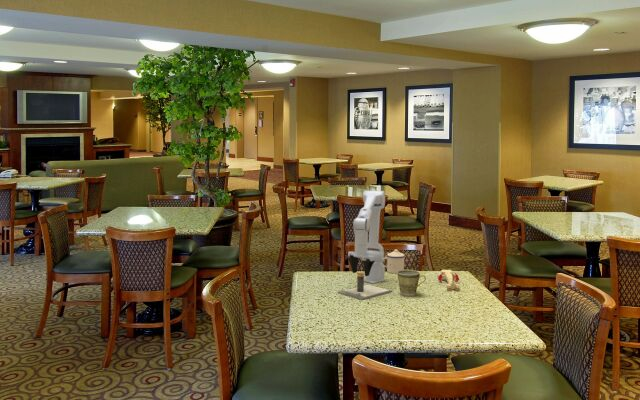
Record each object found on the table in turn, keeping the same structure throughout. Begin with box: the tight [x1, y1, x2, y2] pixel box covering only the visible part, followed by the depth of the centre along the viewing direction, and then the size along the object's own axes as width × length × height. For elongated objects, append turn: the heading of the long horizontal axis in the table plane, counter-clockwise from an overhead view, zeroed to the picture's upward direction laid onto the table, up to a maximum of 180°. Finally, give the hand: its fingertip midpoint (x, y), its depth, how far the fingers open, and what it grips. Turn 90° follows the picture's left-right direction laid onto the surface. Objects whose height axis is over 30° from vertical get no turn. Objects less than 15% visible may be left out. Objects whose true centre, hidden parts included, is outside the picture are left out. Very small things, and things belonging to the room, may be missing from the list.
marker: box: [356, 272, 365, 292], centre depth 269 cm, size 3×3×8 cm
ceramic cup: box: [396, 269, 427, 297], centre depth 267 cm, size 13×10×10 cm
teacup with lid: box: [382, 249, 406, 275], centre depth 310 cm, size 12×9×12 cm
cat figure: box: [436, 269, 461, 292], centre depth 285 cm, size 10×9×25 cm
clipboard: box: [337, 283, 393, 301], centre depth 270 cm, size 20×15×2 cm
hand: (360, 274), depth 269 cm, fingers open, 7 cm apart
